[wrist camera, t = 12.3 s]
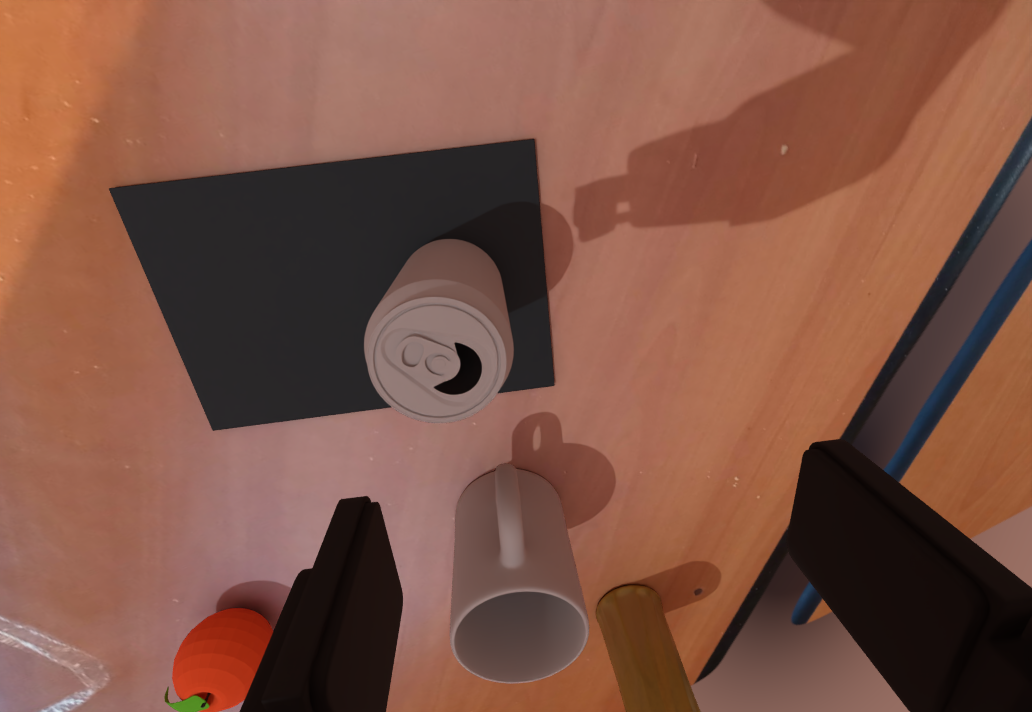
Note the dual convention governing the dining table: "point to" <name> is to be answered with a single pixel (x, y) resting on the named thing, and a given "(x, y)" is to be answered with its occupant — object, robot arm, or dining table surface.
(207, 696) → the clementine
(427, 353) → the beverage can
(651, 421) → the dining table surface
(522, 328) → the mat
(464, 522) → the mug
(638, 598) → the vase
